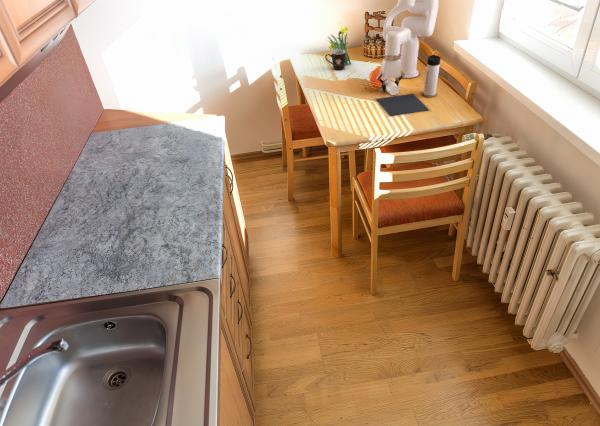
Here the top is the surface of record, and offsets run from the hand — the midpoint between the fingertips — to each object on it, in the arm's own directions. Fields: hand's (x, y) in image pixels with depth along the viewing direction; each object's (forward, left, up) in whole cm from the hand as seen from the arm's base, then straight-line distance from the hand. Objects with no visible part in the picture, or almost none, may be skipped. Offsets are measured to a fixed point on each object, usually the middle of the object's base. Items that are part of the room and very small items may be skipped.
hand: (389, 89), depth 242 cm
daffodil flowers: (-59, -10, -1) cm, 60 cm away
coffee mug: (-42, -18, -1) cm, 46 cm away
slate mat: (+18, 0, -1) cm, 18 cm away
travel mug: (+11, +18, -1) cm, 21 cm away
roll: (0, 0, -1) cm, 1 cm away
